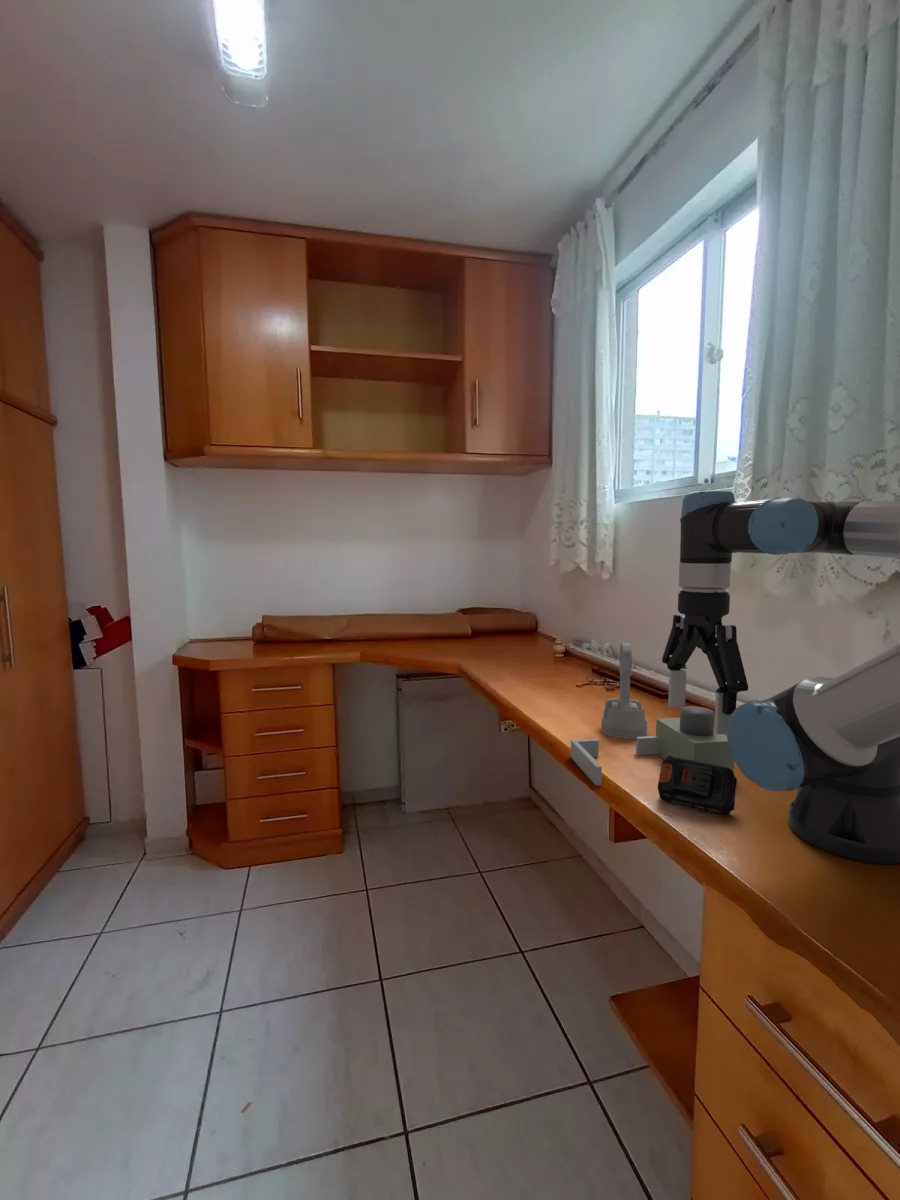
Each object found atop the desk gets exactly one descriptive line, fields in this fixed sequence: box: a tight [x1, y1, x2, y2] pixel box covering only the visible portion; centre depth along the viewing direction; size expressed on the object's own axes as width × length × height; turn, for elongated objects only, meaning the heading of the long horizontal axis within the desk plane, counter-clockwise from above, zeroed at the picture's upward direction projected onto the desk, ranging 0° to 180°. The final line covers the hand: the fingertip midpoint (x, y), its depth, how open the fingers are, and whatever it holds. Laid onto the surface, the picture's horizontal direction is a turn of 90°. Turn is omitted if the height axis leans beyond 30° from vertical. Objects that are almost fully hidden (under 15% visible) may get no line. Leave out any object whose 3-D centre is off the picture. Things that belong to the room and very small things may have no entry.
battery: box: [657, 756, 738, 816], centre depth 91 cm, size 12×8×7 cm
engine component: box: [601, 642, 648, 740], centre depth 126 cm, size 11×20×10 cm
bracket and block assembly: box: [570, 705, 735, 787], centre depth 106 cm, size 14×26×11 cm, turn 97°
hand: (698, 719), depth 90 cm, fingers open, 13 cm apart
